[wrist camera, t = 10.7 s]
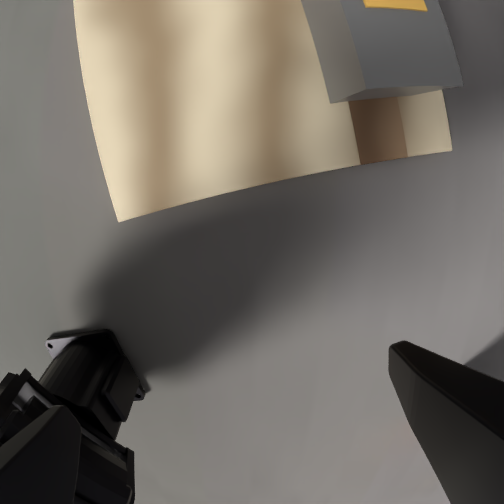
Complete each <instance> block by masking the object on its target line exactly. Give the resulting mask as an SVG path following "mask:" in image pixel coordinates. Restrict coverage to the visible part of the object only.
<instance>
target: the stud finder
mask: <svg viewBox="0 0 504 504" xmlns="http://www.w3.org/2000/svg"><path fill="white" fill-rule="evenodd" d="M301 3H302V6H303V9H304V12H305V15H306V18H307V21H308V24H309V28H310V31H311V34H312V37H313V41H314V44H315V48H316V51H317V55H318V58H319V62H320V66H321V69H322V73H323V77H324V81H325V85H326V89H327V93H328V97H329V101H330V104H331V103H338V102H346V101H355V100H364V99H374V98H386V97H400V96H412V95H417V94H422V93H427V92H433V91H438V90H444V89H450V88H456V87H462V86H464V84H463V80H462V76H461V71H460V68H459V64H458V60H457V56H456V53H455V49H454V46H453V42H452V39H451V36H450V33H449V30H448V27H447V24H446V21H445V18H444V15H443V13H442V10H441V7H440V5H439V2H438V0H301Z"/></svg>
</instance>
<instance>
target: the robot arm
mask: <svg viewBox="0 0 504 504" xmlns="http://www.w3.org/2000/svg"><path fill="white" fill-rule="evenodd" d="M105 335H106V336H108V337H109V338H107V337H106V336H105ZM51 344H52V345H51ZM45 345H46V347H47V349H48V351H49V353H50V354H51V356H52V358H53V361H52V362H51V364H50V365H49V366H48V368H47V369H46V371H45V372H44V374H43V375H42V376H41V378H40V379H39V381H37V380H36V379H34V378H33V377H32V376H31V373H30V372H29V371H28V370H27V369H26V368H25V369H24V370H23V372H22V373H21V374H20V376H19V375H18V374H16V375H15V374H12V373H9V372H8V374H7V375H6V376H5V378H4V379H3V380H2V381H1V383H0V504H134V500H135V479H134V451H132V450H130V449H129V448H127V447H126V448H125V447H123V446H122V445H120V444H119V443H117V442H116V441H115V440H116V437H117V434H118V431H119V428H120V425H121V422H126V420H127V418H128V415H129V412H130V409H131V406H132V403H133V401H139V400H143V399H144V397H145V392H144V390H143V388H142V386H141V385H140V381H139V379H138V378H137V376H136V374H135V372H134V370H133V368H132V367H131V365H130V363H129V361H128V359H127V357H126V356H125V355H124V353H123V351H122V349H121V347H120V345H119V343H118V341H117V339H116V337H115V335H114V334H113V332H112V331H110V330H108V329H103V330H97V331H91V332H84V333H78V334H71V335H64V336H58V337H50V338H48V339H47V340H46V342H45ZM388 369H389V375H390V378H391V381H392V383H393V385H394V388H395V390H396V393H397V395H398V398H399V400H400V402H401V405H402V407H403V410H404V412H405V415H406V417H407V420H408V422H409V424H410V426H411V428H412V430H413V432H414V434H415V436H416V438H417V440H418V441H419V443H420V445H421V447H422V449H423V451H424V452H425V454H426V456H427V458H428V460H429V462H430V464H431V466H432V468H433V470H434V471H435V473H436V475H437V477H438V479H439V481H440V483H441V485H442V487H443V489H444V491H445V493H446V495H447V497H448V499H449V501H450V503H451V504H504V382H503V381H501V380H498V379H496V378H493V377H491V376H488V375H486V374H484V373H481V372H479V371H476V370H474V369H472V368H469V367H467V366H464V365H462V364H460V363H457V362H455V361H452V360H450V359H448V358H445V357H443V356H441V355H438V354H436V353H434V352H431V351H429V350H427V349H424V348H422V347H419V346H417V345H415V344H413V343H410V342H408V341H400V342H397V343H394V344H392V345H391V346H390V347H389V368H388ZM139 394H140V395H139Z"/></svg>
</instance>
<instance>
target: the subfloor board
mask: <svg viewBox="0 0 504 504" xmlns="http://www.w3.org/2000/svg"><path fill="white" fill-rule="evenodd" d="M73 1H74V14H75V24H76V33H77V41H78V49H79V56H80V63H81V69H82V75H83V81H84V87H85V92H86V97H87V103H88V108H89V112H90V117H91V122H92V126H93V131H94V135H95V139H96V144H97V148H98V152H99V156H100V160H101V164H102V167H103V171H104V175H105V178H106V182H107V186H108V189H109V193H110V196H111V199H112V203H113V206H114V209H115V213H116V216H117V219H118V222H121V221H125V220H128V219H132V218H135V217H138V216H142V215H145V214H149V213H152V212H156V211H159V210H163V209H167V208H170V207H174V206H178V205H181V204H185V203H189V202H193V201H197V200H200V199H204V198H208V197H212V196H216V195H220V194H224V193H228V192H233V191H237V190H241V189H245V188H249V187H254V186H258V185H262V184H267V183H271V182H276V181H280V180H285V179H290V178H294V177H299V176H304V175H309V174H314V173H319V172H324V171H329V170H334V169H340V168H345V167H350V166H356V165H363V164H369V163H375V162H381V161H387V160H393V159H399V158H406V157H411V156H418V155H425V154H432V153H439V152H447V151H452V144H451V137H450V130H449V124H448V118H447V112H446V107H445V102H444V97H443V92H442V90H438V91H433V92H427V93H422V94H417V95H412V96H400V97H386V98H374V99H364V100H355V101H346V102H338V103H331V104H330V101H329V97H328V93H327V89H326V85H325V81H324V77H323V73H322V69H321V66H320V62H319V58H318V55H317V51H316V48H315V44H314V41H313V37H312V34H311V31H310V28H309V24H308V21H307V18H306V15H305V12H304V9H303V6H302V3H301V0H73Z"/></svg>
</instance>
